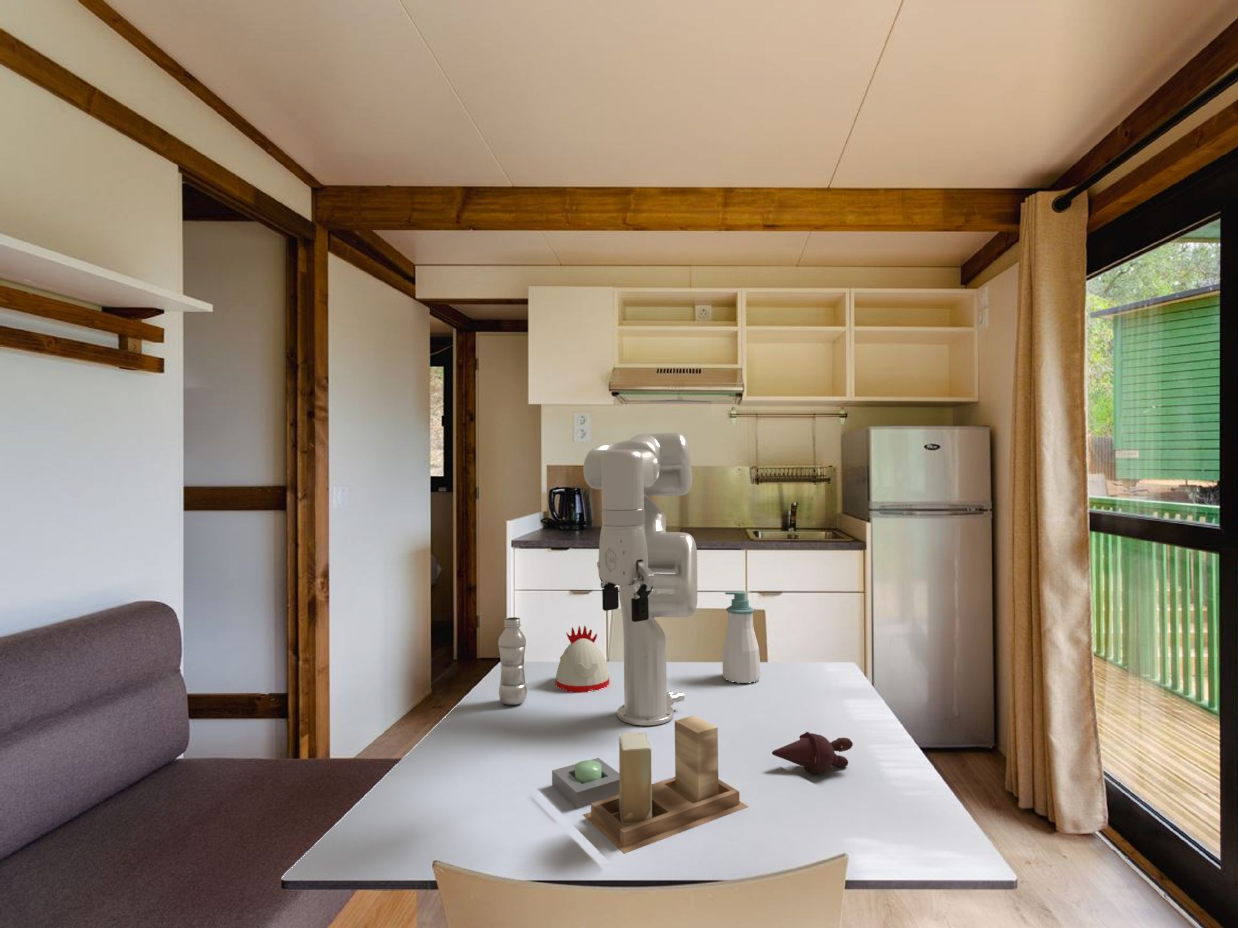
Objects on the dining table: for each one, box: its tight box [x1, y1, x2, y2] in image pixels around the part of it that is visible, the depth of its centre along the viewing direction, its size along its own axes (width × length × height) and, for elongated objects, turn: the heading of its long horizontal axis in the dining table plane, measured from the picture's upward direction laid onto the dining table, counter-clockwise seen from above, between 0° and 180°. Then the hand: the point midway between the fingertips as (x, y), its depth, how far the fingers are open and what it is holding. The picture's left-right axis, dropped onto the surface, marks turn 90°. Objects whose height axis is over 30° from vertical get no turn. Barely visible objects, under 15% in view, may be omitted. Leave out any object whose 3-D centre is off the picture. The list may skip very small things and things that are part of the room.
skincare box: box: [618, 731, 653, 827], centre depth 93 cm, size 6×4×12 cm
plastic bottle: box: [498, 616, 528, 706], centre depth 148 cm, size 6×7×20 cm
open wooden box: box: [582, 776, 749, 854], centre depth 96 cm, size 23×12×3 cm, turn 121°
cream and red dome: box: [555, 625, 610, 693], centre depth 162 cm, size 14×14×15 cm
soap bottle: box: [722, 591, 761, 684], centre depth 165 cm, size 10×10×23 cm
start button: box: [575, 759, 601, 784], centre depth 103 cm, size 4×4×4 cm
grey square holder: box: [551, 757, 619, 810], centre depth 103 cm, size 9×9×4 cm
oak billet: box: [674, 715, 719, 804], centre depth 99 cm, size 4×6×12 cm, turn 32°
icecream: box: [771, 731, 854, 776], centre depth 111 cm, size 7×7×15 cm
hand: (624, 614), depth 110 cm, fingers open, 9 cm apart
